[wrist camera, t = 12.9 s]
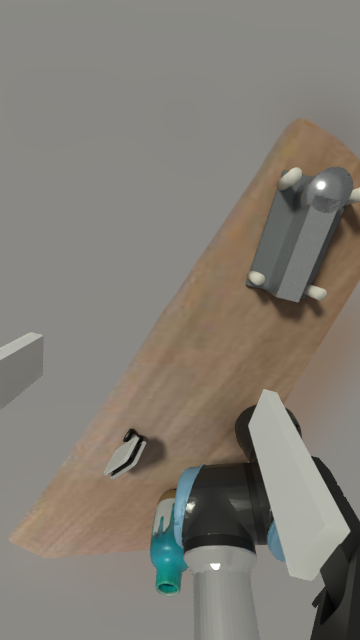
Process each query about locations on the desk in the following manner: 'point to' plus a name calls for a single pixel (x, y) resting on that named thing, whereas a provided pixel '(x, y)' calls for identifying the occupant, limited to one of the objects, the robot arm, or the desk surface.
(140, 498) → the desk surface
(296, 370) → the desk surface
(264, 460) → the robot arm
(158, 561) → the vase
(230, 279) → the desk surface
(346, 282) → the desk surface
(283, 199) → the pad
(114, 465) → the white stapler
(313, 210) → the grey ball-ended handle
